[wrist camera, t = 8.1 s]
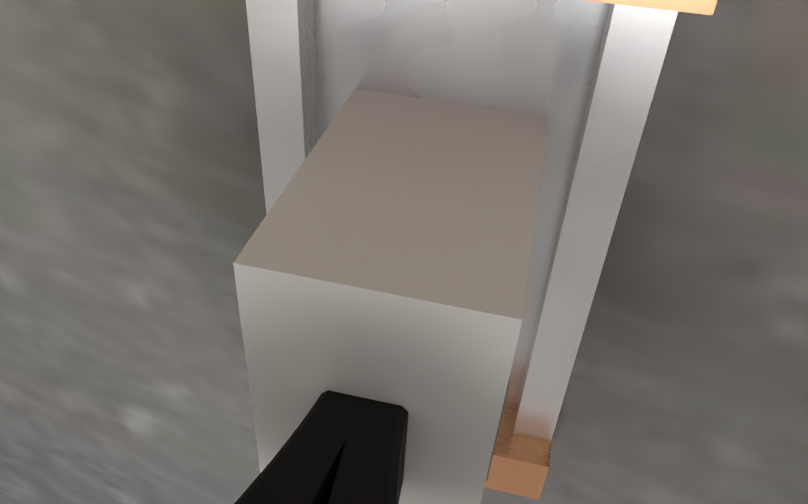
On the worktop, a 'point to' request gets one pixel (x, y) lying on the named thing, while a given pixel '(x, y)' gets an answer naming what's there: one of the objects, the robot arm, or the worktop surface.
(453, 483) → the block
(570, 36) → the rail
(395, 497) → the robot arm
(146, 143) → the worktop surface
